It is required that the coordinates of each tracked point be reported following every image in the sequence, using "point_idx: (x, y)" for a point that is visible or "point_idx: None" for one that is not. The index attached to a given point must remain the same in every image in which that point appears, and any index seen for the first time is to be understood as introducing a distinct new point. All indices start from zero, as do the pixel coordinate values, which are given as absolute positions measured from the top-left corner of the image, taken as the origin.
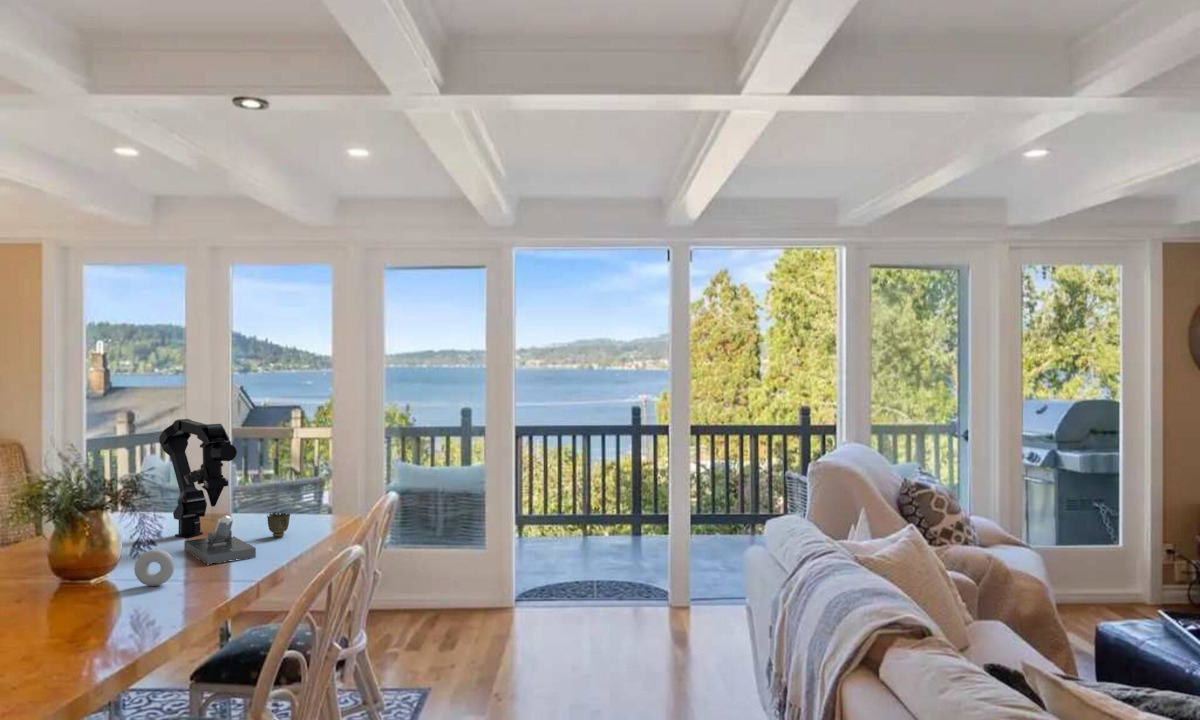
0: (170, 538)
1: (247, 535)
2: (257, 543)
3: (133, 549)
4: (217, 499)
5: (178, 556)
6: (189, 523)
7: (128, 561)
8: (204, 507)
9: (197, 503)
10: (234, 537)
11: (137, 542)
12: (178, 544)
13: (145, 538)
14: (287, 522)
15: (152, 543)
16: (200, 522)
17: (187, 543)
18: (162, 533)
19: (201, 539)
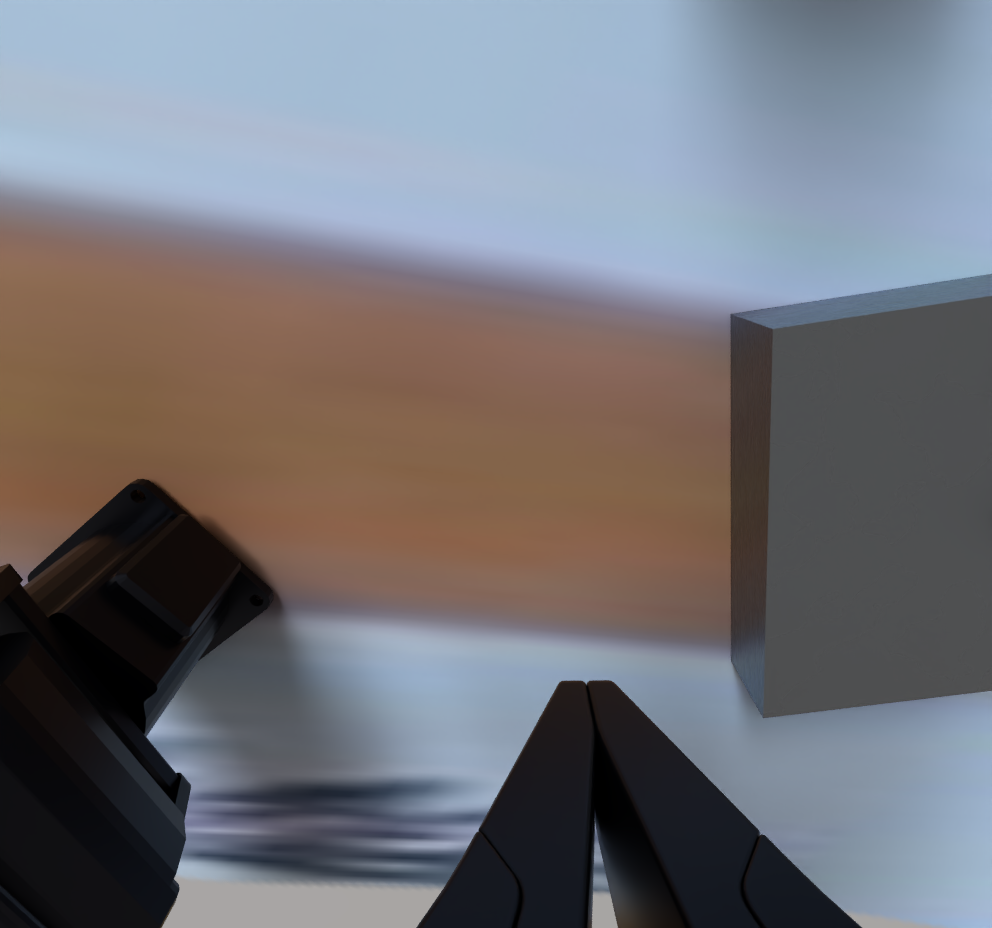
0: (231, 701)
1: (435, 51)
2: (956, 26)
3: None
4: (695, 780)
5: (896, 705)
6: (173, 674)
7: None
8: (19, 677)
9: (24, 845)
10: (979, 312)
11: (275, 859)
12: (492, 675)
13: None
14: None
15: (357, 798)
16: (127, 573)
17: (851, 702)
18: None
19: (807, 605)
